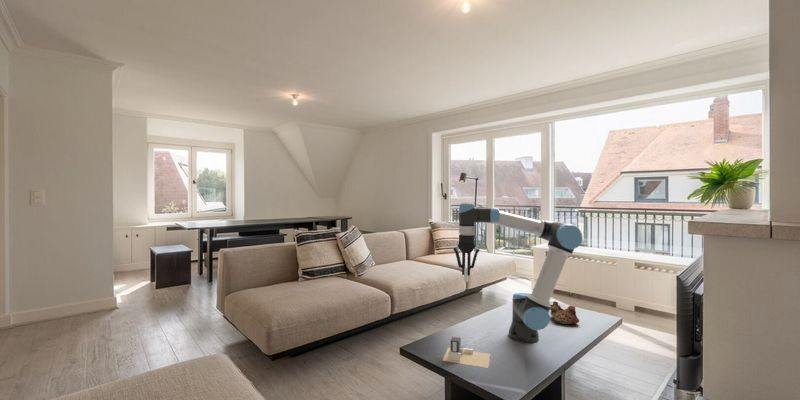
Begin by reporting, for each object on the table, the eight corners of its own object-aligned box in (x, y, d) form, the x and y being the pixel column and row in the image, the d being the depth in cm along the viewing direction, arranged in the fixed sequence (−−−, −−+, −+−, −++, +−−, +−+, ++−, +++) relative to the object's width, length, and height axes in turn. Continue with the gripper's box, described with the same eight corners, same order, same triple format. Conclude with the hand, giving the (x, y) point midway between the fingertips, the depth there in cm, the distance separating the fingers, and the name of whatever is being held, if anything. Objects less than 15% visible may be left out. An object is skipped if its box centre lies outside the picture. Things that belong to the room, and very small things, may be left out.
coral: (539, 304, 219) (560, 296, 221) (547, 324, 217) (568, 316, 219) (554, 307, 201) (577, 299, 203) (563, 330, 199) (586, 321, 201)
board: (490, 356, 162) (490, 347, 162) (488, 370, 149) (488, 360, 149) (448, 349, 168) (448, 340, 168) (442, 362, 155) (442, 353, 155)
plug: (460, 355, 160) (460, 337, 160) (458, 359, 156) (459, 342, 156) (451, 353, 162) (452, 336, 161) (449, 358, 157) (450, 340, 157)
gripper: (480, 234, 173) (480, 281, 173) (454, 233, 177) (454, 278, 177) (479, 235, 166) (478, 284, 166) (452, 234, 170) (451, 282, 170)
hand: (466, 281), depth 172 cm, fingers closed
